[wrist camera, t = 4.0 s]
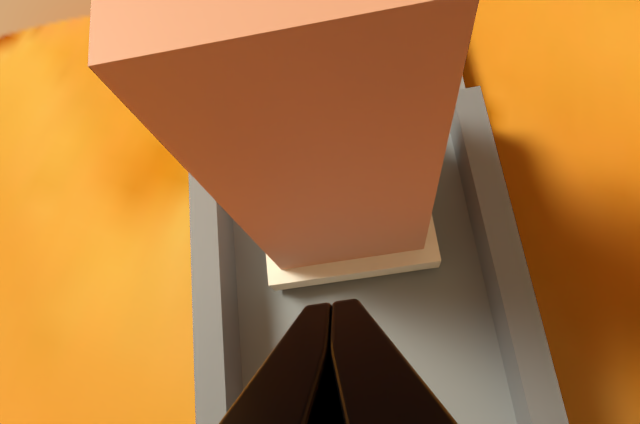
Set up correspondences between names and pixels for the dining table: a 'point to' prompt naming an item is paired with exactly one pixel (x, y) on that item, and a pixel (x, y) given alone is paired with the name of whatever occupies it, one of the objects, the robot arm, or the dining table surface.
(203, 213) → the track
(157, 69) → the salmon pink tall box
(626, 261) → the dining table surface
